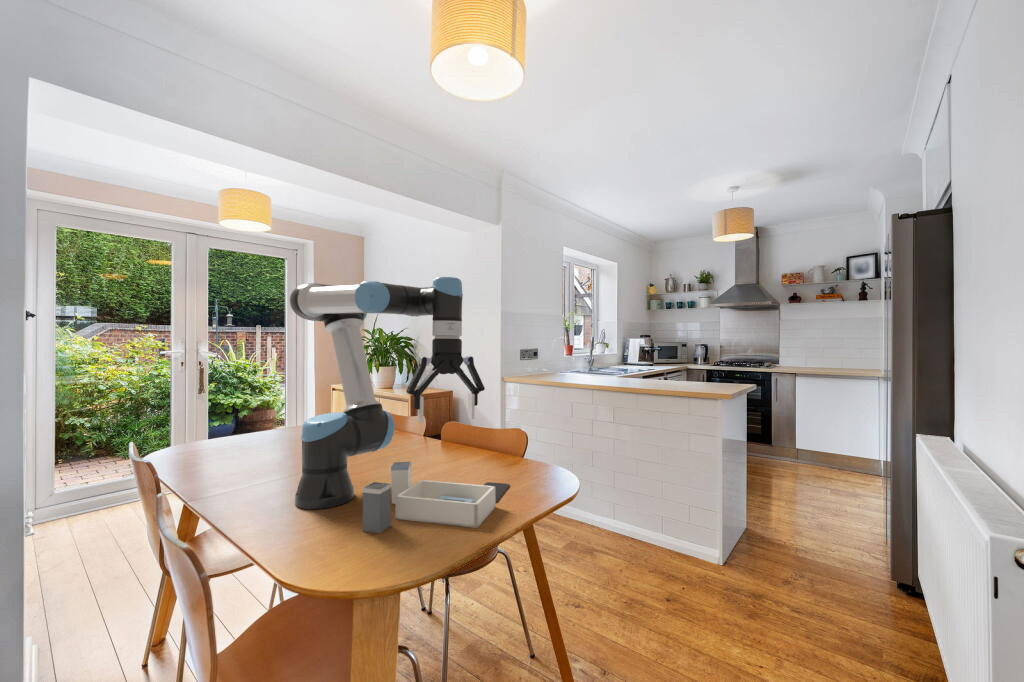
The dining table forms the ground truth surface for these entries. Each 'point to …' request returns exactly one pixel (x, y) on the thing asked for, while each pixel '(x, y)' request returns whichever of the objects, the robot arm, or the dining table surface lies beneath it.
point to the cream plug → (400, 478)
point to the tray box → (446, 503)
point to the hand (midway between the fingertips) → (446, 420)
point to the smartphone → (498, 489)
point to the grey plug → (376, 507)
